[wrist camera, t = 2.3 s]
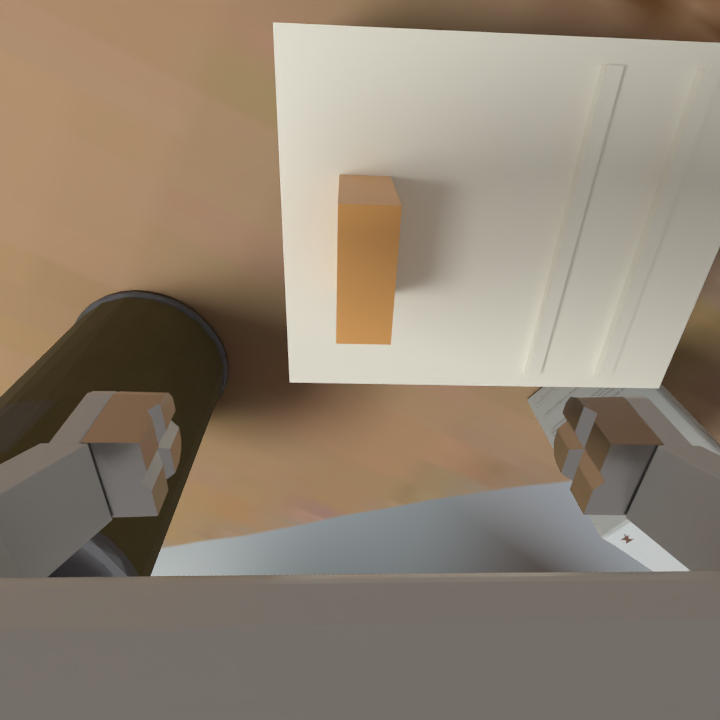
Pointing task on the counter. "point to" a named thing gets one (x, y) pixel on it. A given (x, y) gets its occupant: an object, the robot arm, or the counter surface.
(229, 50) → the counter surface
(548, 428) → the supplement box
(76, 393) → the canister
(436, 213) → the lid
